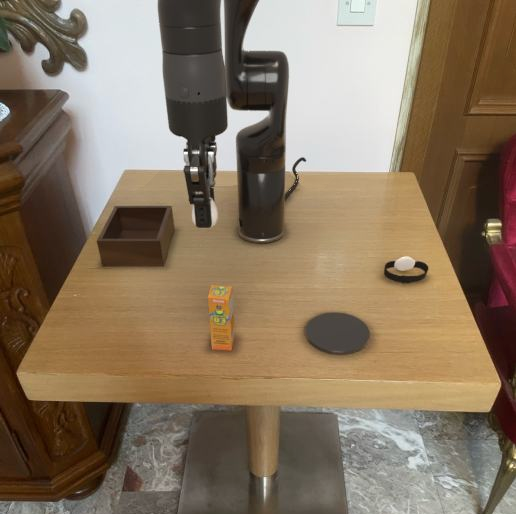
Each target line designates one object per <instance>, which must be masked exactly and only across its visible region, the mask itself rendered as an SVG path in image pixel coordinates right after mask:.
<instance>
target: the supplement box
mask: <svg viewBox="0 0 516 514" xmlns="http://www.w3.org/2000/svg"><path fill="white" fill-rule="evenodd" d="M207 306H208V317H209V318H208V320H209V331H210V332H209V333H210V342H211V343H210V344H211V350H214V351H229V352H231V351H232V349H233V347H234V344H235V339H236V332H235V314H234V313H235V311H234V288H233V286H232V285H227V286H226V285H217V284H211V285H210V286H209V291H208V295H207Z"/></svg>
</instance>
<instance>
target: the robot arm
mask: <svg viewBox="0 0 516 514" xmlns="http://www.w3.org/2000/svg"><path fill="white" fill-rule="evenodd" d="M259 2H260V0H223V21H224V23H223V24H224V25H223V26H224V30H223V31H224V32H223V33H224V35H223V36H224V55H223V40H222V18H221V6H222V0H157V17H158V23H159V24H158V25H159V26H158V27H159V33H160V43H161V53H162V65H161V66H162V68H161V69H162V81H163V88H164V98H165V107H166V113H167V114H166V115H167V123H168V129H169V131H170V133H171V134H172V135H174V136H176V137H179V138H180V137H182V138H184V139H185V140H186V143H185V148H183V152H182V153H183V162H184V163H185V165H184V167H183V173H184V178H185V185H186V191H187V196H188V202H189V204H190V205H193V204H194V211H195V222H196V226H197V227H196V226H195V227H196V228H198V229H201V228H208V229H211V228H212V227H211V225H212V216H211V200H212V199H213V201H214V203H215V202H216V201H215V186H216V180H215V179H216V176H217V170H218V169H217V167H218V166H217V152H218V145H217V141H216V139H217V138H216V137H217V136H220V135H222V134H223V133H224V132H226V130H227V129H228V126H229V123H228V122H229V121H228V107H229V108H230V109H232V110H233V111H239V112H248V111H249V112H268V114H267V116H265V117H264V118H262V119H261V120H259V121H258V122H256V123H253V124H251V125H248V126H246V127H244V128H241V129H240V130H239V131H238V132H237V133H236V136H235V156H236V158H235V159H236V181H237V184H236V185H237V207H238V209H237V211H238V217H237V224H238V235H239V236H240V238H241V239H243V240H244V241H247V242H250V243H255V244H268V243H272V242H276V241H278V240H280V239H282V238H283V236H284V235H285V205H286V204H285V203H286V201H287V199H288V197H289V196H290V195H291V194H292V192H293V191H294V190H295V189H296V187H297V186H298V184H299V180H300V177H299V174H298V172H297V169H296V168H297V166H298V165H299V164H300V163H301V162H304V163H306V162H307V159H306V158H305V157H303V156H302V157H299V158H298V159H297V160H296V161H295V162H294V164H293V165H292V168H291V171H292V173H293V175H294V178H295V180H294V182H293V184H292V186H291V187H289V189H288V190H287V191H286V154H287V110H288V100H289V99H288V97H289V96H288V95H289V86H290V85H289V84H290V65H289V60H288V57H287V55H286V53H285V52H284V51H281V50H245V49H244V41H245V38H246V34H247V30H248V27H249V25H250V22H251V19H252V17H253V15H254V13H255V10H256V8H257V6H258V4H259ZM296 173H297V174H296ZM297 175H298V179H297ZM296 181H297V182H296ZM294 184H295V185H294ZM290 189H291V190H290ZM289 190H290V191H289ZM199 192H203V194H198V193H199ZM211 197H212V198H211ZM215 204H216V203H215ZM210 227H211V228H210Z"/></svg>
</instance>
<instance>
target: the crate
mask: <svg viewBox="0 0 516 514" xmlns="http://www.w3.org/2000/svg"><path fill="white" fill-rule="evenodd" d="M173 215H174V213H173V207H172V205H114V206H113V208H112V210H111V212H110V214H109V216H108V218H107V220H106V222H105V224H104V226H103V228H102V229H101V231H100V233H99V235H98V237H97V239H96V245H97V249H98V253H99V257H100V261H101V262H100V263H101V267H164V266H165V265H166V261H167V257H168V254H169V251H170V247H171V243H172V241H173V237H174V234H175V231H176V230H175V222H174V216H173Z"/></svg>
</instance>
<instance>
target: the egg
mask: <svg viewBox="0 0 516 514" xmlns="http://www.w3.org/2000/svg"><path fill="white" fill-rule="evenodd" d="M197 194H203V192H199V193H198V192H197ZM211 198H212V197H211ZM211 216H212V225H211V227H210V228H200V229H202V230H205V229H206V230H207V229H211V228H213V227H214V226H215V225H216V224H217V223H218V219H219V211H218V207H217V205H216V203H214V201H213V199H212V200H211ZM191 221H192V223H193V225H194V226H195V228H198V227H197V226H196V222H195V211H194V204H192V207H191Z"/></svg>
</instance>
